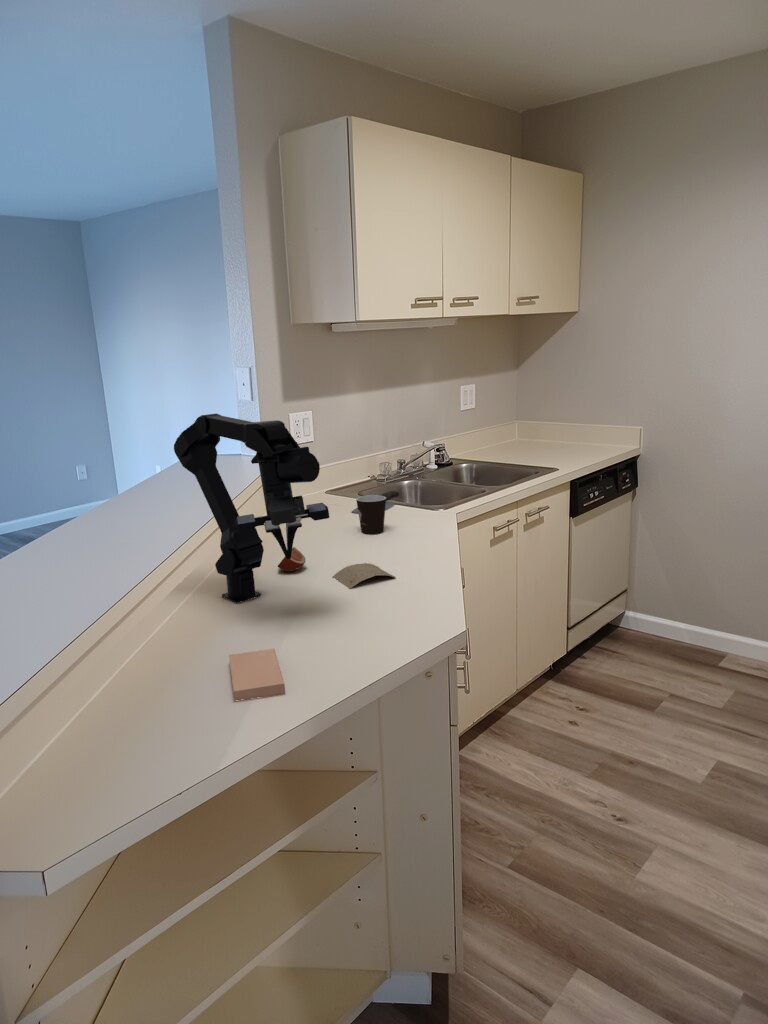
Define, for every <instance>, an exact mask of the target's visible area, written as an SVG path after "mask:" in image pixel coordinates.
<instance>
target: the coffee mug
mask: <svg viewBox="0 0 768 1024" xmlns="http://www.w3.org/2000/svg"><path fill="white" fill-rule="evenodd" d="M380 495H381V494H379V495H376V494H369V495H361V496H359V497H356V500H355V501H356V506H357V507H358V513H359V514H358V518H359V519H358V520H359V524H360V525H359V526H360V531H361V533H362V534H363V535H367V536H375V535H380V534H383V533H384V530H385V529H384V527H385V518H386V517H385V516H386V511H385V505H386V502H387V500H386V497H384V496H380ZM357 507H356V508H357Z"/></svg>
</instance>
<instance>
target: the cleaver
mask: <svg viewBox="0 0 768 1024" xmlns="http://www.w3.org/2000/svg"><path fill="white" fill-rule="evenodd" d="M379 495H380V496H384V497H386V505H385V512H387V511H388V510H389V509H391V508H392V507H394V506H395V505H394V504H395V503H394V502H390V501H389V500H391V499H393V498H396V497H399V496H400V493H399V491H395V490H390V491H387V492H384V493H381V494H379ZM351 514H355V515H359V513H358V507H355V509H353V510H352V511H351Z"/></svg>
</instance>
